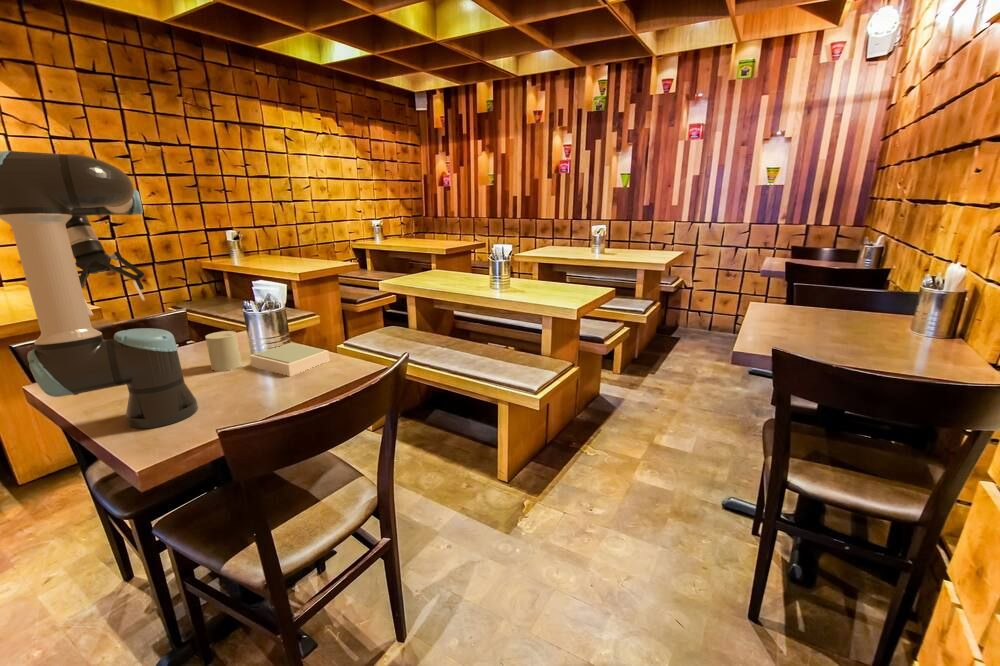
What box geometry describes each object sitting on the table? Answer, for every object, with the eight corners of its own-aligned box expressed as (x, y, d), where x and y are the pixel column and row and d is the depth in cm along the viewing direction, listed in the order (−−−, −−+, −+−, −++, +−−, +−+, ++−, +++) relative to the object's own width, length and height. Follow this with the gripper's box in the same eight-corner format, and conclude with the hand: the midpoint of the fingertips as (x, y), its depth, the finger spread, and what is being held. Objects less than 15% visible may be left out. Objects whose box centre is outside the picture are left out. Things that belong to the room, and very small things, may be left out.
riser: (329, 361, 158) (328, 349, 157) (290, 376, 145) (288, 363, 143) (291, 353, 167) (290, 341, 166) (251, 366, 154) (249, 354, 153)
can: (232, 371, 149) (226, 337, 146) (205, 371, 149) (198, 337, 146) (247, 362, 158) (242, 329, 155) (222, 362, 158) (215, 329, 155)
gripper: (133, 236, 148) (164, 295, 151) (34, 258, 134) (70, 323, 137) (131, 229, 142) (163, 292, 145) (27, 252, 128) (65, 320, 131)
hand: (118, 307), depth 141 cm, fingers open, 13 cm apart
